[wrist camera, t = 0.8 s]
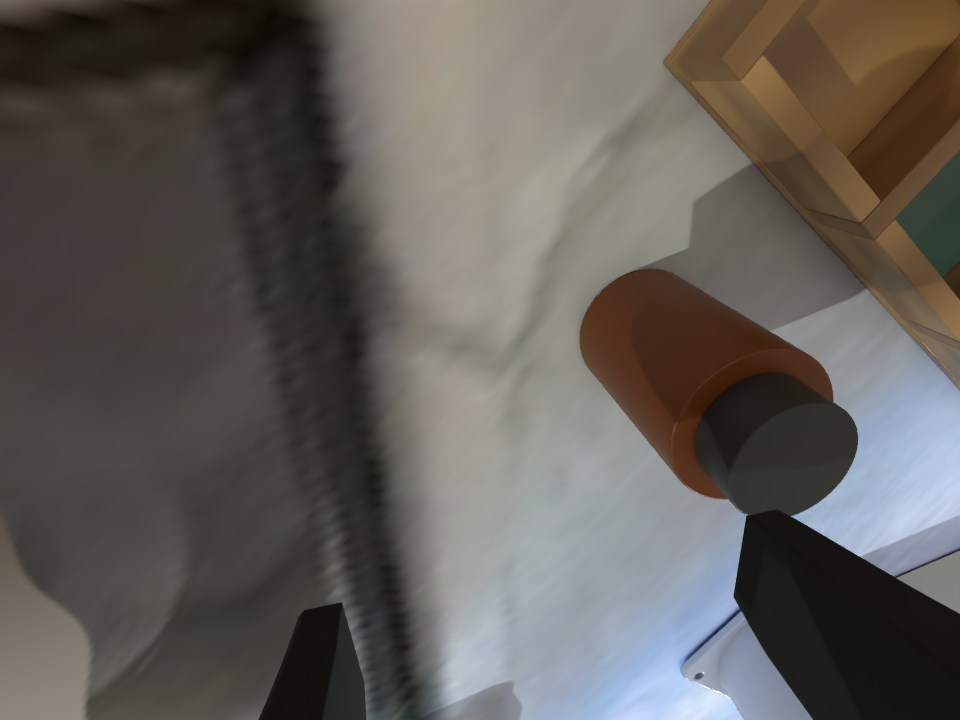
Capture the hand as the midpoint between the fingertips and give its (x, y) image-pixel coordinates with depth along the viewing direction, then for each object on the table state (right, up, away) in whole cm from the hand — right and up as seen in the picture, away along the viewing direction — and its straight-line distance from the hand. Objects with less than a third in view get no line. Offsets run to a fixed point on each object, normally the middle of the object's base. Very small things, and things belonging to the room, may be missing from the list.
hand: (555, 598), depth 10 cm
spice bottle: (+4, +5, +10) cm, 12 cm away
